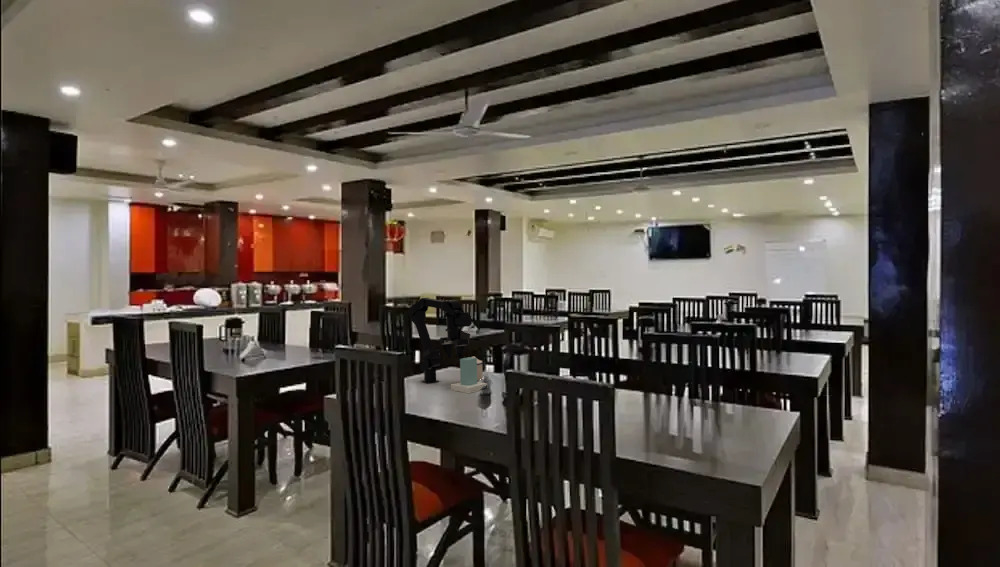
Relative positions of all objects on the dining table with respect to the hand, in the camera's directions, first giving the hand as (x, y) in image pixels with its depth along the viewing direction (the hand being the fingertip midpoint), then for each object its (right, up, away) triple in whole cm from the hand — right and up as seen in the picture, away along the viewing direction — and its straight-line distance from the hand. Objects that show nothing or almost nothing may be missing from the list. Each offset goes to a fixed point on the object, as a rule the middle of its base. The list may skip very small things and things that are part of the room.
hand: (454, 358), depth 285 cm
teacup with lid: (+7, -13, +16) cm, 22 cm away
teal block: (+7, -11, -7) cm, 15 cm away
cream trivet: (+7, -13, -7) cm, 17 cm away
